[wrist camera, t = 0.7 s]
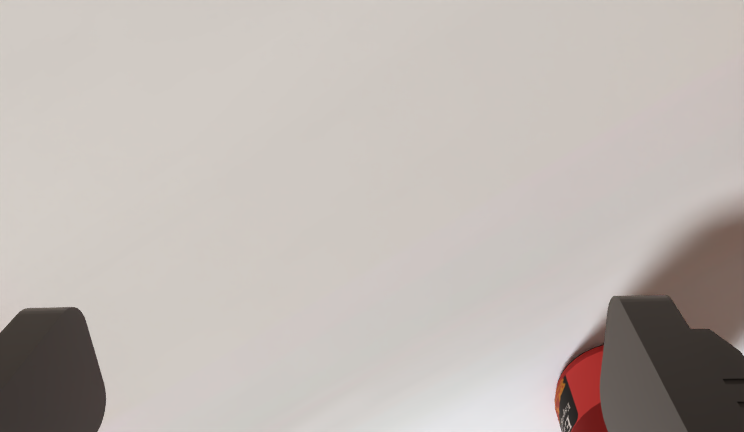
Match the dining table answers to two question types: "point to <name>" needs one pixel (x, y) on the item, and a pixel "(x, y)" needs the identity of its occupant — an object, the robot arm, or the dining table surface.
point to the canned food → (581, 394)
